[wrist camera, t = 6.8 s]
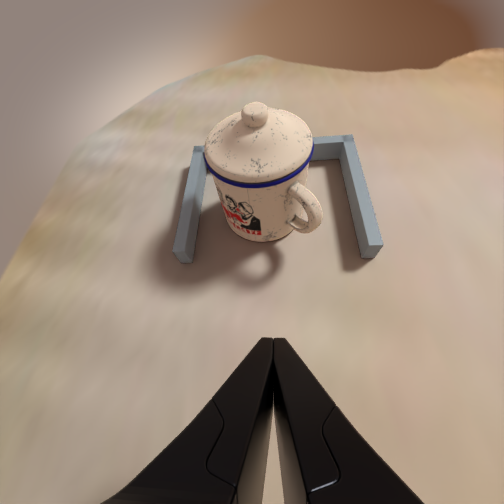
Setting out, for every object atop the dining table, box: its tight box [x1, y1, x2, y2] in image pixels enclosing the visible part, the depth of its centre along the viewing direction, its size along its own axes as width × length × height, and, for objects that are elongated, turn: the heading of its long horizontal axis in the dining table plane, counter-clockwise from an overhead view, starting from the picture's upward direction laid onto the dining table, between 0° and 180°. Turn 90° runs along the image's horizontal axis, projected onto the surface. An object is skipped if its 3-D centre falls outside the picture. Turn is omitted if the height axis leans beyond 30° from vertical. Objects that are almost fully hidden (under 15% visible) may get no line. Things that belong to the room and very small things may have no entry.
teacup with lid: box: [204, 102, 322, 242], centre depth 22 cm, size 12×9×12 cm
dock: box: [172, 134, 383, 263], centre depth 27 cm, size 15×19×2 cm
